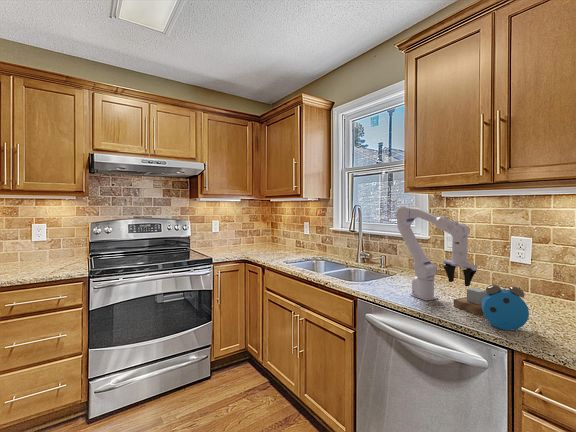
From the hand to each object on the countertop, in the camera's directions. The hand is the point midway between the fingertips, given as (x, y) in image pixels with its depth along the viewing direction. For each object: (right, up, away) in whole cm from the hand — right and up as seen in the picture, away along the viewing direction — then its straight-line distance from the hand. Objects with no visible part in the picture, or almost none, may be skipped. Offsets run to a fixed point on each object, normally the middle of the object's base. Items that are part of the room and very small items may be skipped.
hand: (459, 283), depth 133 cm
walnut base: (+5, -10, -4) cm, 12 cm away
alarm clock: (+3, -11, -23) cm, 26 cm away
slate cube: (+5, -7, -4) cm, 9 cm away
